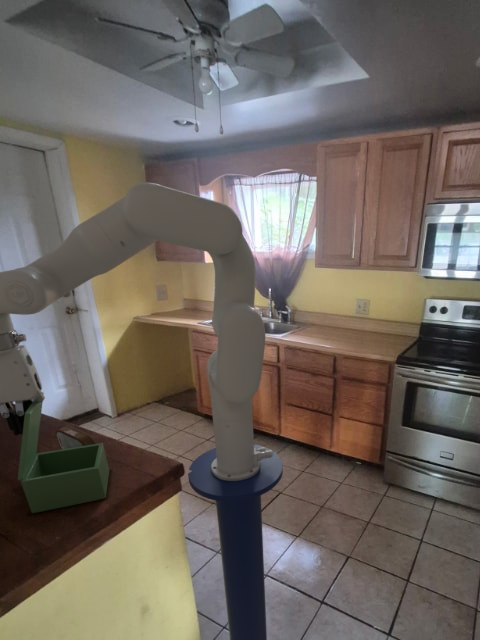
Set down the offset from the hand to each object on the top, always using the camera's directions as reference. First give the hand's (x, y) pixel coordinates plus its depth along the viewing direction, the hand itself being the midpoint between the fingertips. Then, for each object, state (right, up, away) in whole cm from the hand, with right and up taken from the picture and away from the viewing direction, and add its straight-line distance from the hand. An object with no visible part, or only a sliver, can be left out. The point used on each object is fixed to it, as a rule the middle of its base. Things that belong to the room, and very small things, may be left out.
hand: (21, 431), depth 74 cm
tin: (0, -9, +20) cm, 22 cm away
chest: (+5, -14, +8) cm, 17 cm away
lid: (+2, -1, +1) cm, 2 cm away
